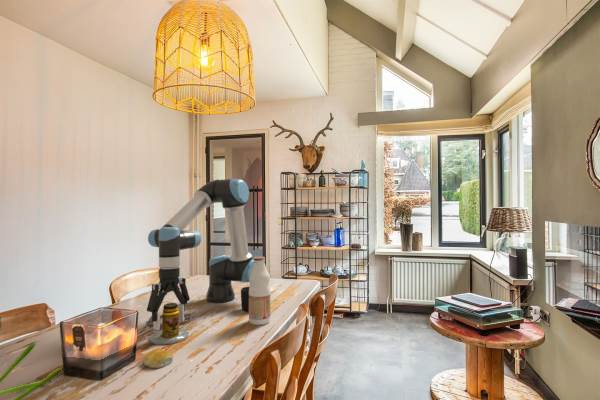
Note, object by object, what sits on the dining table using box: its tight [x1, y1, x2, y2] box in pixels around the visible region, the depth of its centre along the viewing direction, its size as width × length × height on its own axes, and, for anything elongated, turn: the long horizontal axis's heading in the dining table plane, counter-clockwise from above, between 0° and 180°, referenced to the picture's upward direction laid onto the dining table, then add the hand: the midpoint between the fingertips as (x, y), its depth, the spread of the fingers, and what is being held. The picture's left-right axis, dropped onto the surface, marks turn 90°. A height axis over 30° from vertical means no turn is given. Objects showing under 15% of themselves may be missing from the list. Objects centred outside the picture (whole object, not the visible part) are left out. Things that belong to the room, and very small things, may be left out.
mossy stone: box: [143, 348, 174, 369], centre depth 113 cm, size 8×9×4 cm
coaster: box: [149, 328, 189, 346], centre depth 134 cm, size 14×14×1 cm
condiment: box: [154, 302, 184, 340], centre depth 134 cm, size 7×8×12 cm
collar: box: [147, 312, 192, 329], centre depth 153 cm, size 17×17×2 cm
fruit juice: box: [248, 256, 272, 326], centre depth 151 cm, size 9×9×28 cm
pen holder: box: [240, 286, 250, 313], centre depth 169 cm, size 9×9×10 cm
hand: (169, 324), depth 134 cm, fingers open, 10 cm apart
